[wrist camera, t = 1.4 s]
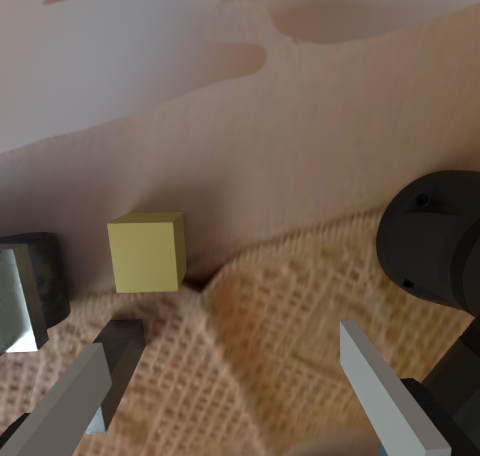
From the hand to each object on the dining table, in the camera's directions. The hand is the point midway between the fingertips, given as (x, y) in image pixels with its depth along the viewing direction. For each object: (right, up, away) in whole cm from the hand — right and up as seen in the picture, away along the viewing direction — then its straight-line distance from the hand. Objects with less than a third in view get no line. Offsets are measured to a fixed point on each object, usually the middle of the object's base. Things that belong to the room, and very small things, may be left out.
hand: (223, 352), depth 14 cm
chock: (-8, +5, +16) cm, 19 cm away
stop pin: (-13, -6, +19) cm, 24 cm away
